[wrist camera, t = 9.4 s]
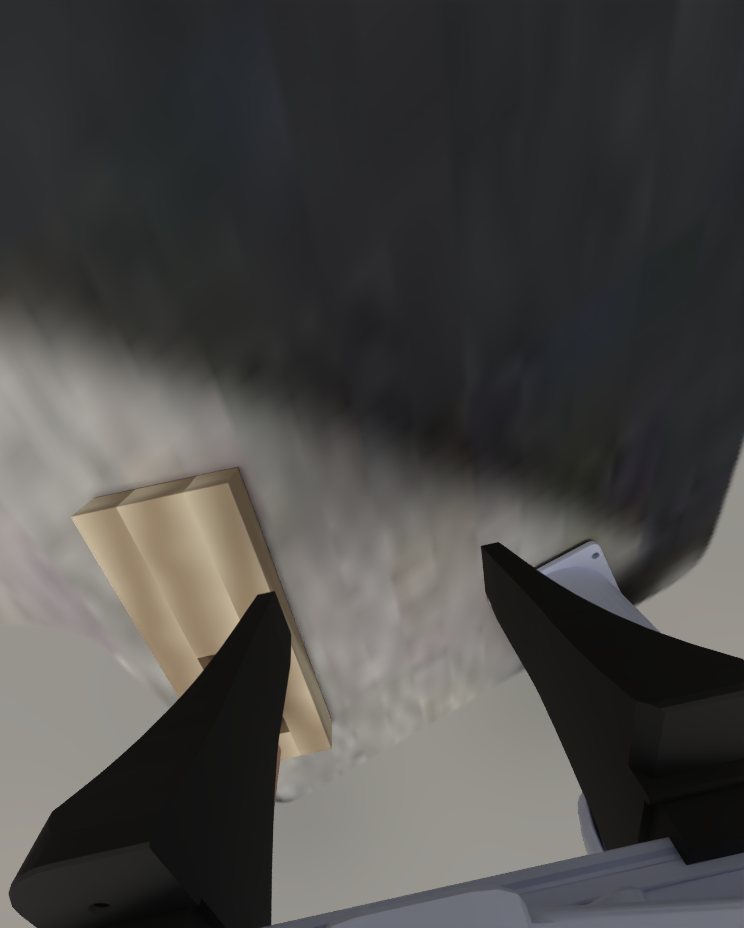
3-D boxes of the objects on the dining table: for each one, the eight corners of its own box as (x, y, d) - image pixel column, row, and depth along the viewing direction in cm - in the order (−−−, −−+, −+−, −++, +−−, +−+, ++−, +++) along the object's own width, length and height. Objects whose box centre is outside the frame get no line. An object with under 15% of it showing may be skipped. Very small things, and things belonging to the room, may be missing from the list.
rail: (237, 467, 21) (228, 482, 19) (331, 721, 29) (331, 748, 28) (94, 498, 21) (70, 517, 19) (230, 743, 29) (223, 772, 27)
